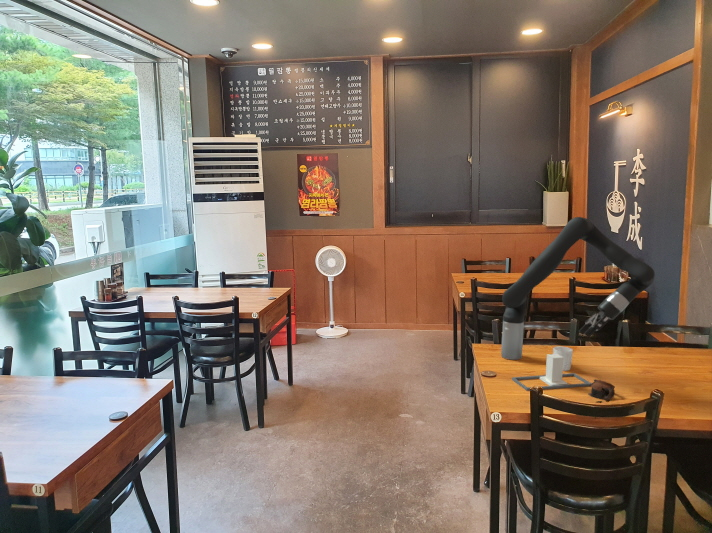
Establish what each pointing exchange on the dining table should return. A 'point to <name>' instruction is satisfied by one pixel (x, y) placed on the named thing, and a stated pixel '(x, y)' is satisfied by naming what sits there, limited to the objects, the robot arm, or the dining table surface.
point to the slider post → (554, 370)
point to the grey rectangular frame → (586, 383)
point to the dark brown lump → (602, 390)
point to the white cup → (566, 354)
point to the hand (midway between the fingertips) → (583, 334)
